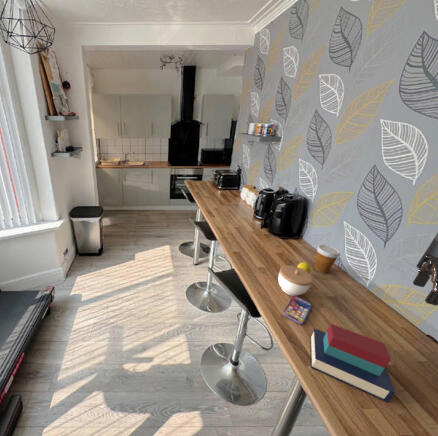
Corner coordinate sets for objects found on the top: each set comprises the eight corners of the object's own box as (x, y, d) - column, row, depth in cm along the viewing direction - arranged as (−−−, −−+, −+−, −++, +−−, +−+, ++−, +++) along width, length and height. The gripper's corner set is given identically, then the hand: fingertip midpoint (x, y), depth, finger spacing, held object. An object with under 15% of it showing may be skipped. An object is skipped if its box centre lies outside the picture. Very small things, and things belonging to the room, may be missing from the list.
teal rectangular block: (374, 359, 71) (379, 351, 70) (379, 376, 67) (384, 368, 65) (323, 339, 77) (326, 331, 76) (324, 353, 73) (328, 345, 71)
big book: (376, 364, 75) (382, 354, 73) (387, 402, 65) (395, 392, 63) (309, 337, 83) (314, 328, 81) (310, 367, 73) (315, 358, 71)
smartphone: (312, 305, 97) (302, 325, 88) (293, 296, 102) (281, 314, 92) (313, 304, 97) (303, 324, 87) (294, 294, 102) (282, 312, 92)
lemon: (296, 271, 119) (301, 258, 116) (309, 276, 115) (314, 263, 112) (292, 275, 116) (297, 262, 113) (305, 281, 112) (310, 267, 109)
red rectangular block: (379, 351, 70) (384, 343, 69) (385, 368, 65) (390, 360, 64) (327, 331, 76) (330, 323, 75) (328, 345, 71) (332, 337, 70)
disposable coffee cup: (306, 265, 124) (313, 245, 120) (319, 262, 127) (326, 243, 122) (323, 276, 116) (331, 255, 111) (336, 273, 119) (345, 253, 114)
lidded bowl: (284, 300, 100) (292, 279, 95) (269, 281, 111) (275, 261, 107) (313, 300, 100) (322, 279, 96) (295, 281, 112) (302, 262, 107)
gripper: (500, 261, 50) (457, 317, 57) (464, 235, 61) (431, 284, 68) (449, 250, 54) (414, 304, 60) (424, 228, 65) (397, 275, 71)
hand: (423, 293), depth 64 cm, fingers open, 8 cm apart
